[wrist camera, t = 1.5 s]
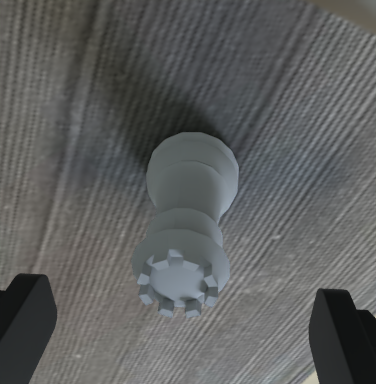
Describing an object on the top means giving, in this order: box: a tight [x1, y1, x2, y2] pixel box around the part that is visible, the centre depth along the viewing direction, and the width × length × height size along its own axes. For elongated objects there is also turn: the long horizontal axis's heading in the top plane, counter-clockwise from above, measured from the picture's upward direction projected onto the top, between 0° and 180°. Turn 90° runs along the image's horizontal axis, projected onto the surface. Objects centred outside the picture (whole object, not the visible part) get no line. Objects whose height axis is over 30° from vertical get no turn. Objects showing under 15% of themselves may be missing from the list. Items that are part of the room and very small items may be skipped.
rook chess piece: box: [131, 132, 239, 318], centre depth 14 cm, size 4×4×8 cm
